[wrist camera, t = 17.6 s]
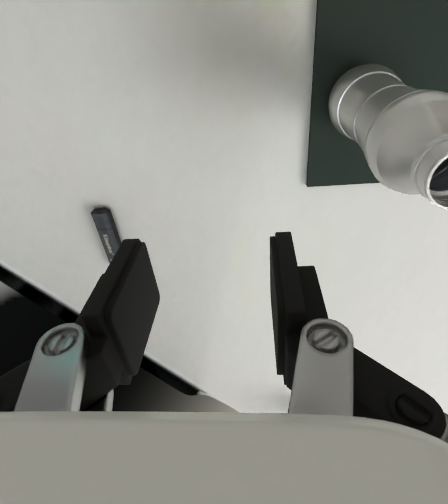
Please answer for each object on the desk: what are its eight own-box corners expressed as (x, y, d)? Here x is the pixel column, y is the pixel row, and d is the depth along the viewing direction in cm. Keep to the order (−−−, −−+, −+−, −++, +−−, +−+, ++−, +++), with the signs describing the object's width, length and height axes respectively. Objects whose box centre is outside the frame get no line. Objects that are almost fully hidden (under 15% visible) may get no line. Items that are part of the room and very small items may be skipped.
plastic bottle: (357, 44, 30) (483, 79, 14) (407, 89, 32) (568, 164, 16) (310, 106, 34) (367, 191, 17) (357, 143, 36) (449, 251, 19)
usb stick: (92, 206, 43) (87, 212, 42) (111, 205, 43) (107, 211, 41) (113, 263, 48) (109, 270, 47) (130, 262, 48) (127, 269, 47)
